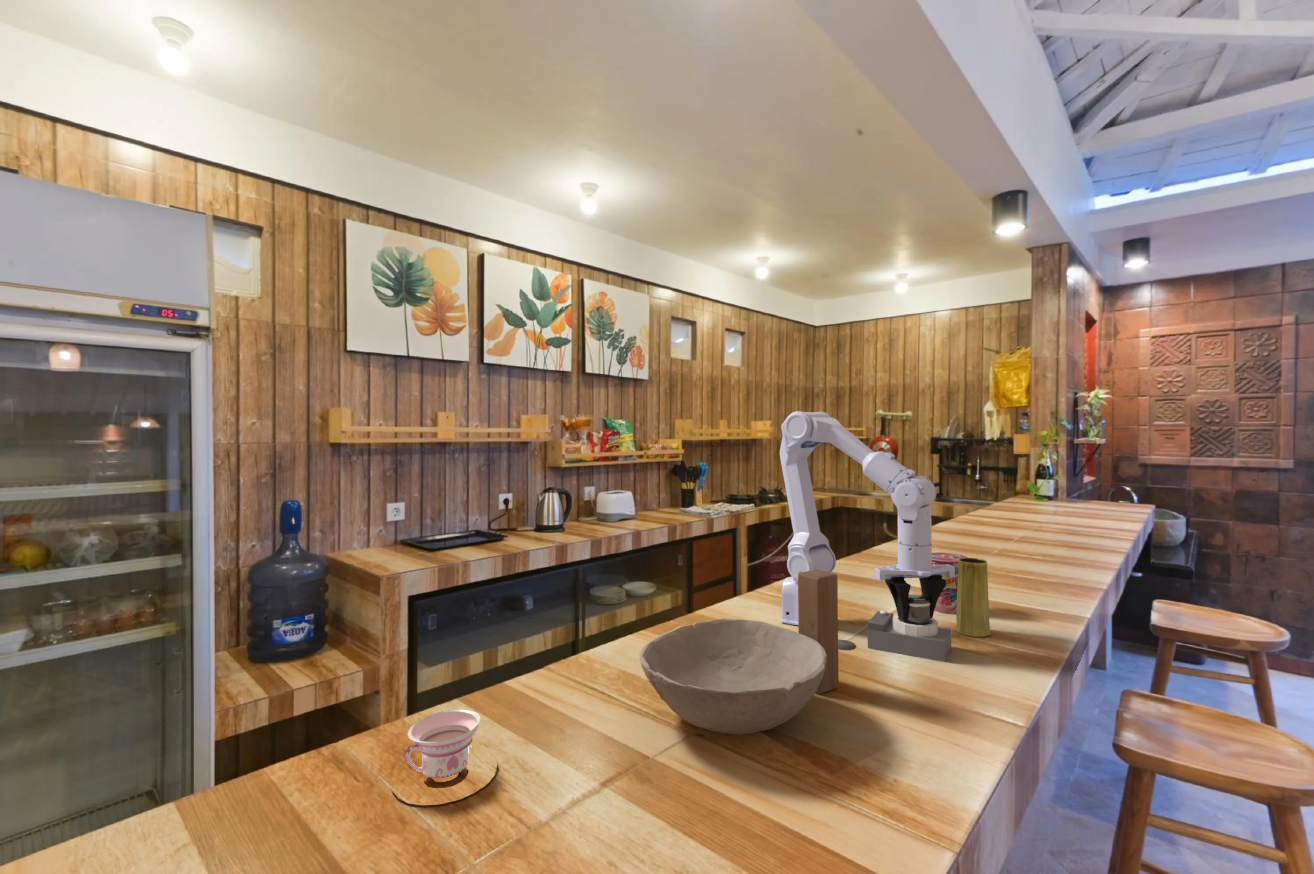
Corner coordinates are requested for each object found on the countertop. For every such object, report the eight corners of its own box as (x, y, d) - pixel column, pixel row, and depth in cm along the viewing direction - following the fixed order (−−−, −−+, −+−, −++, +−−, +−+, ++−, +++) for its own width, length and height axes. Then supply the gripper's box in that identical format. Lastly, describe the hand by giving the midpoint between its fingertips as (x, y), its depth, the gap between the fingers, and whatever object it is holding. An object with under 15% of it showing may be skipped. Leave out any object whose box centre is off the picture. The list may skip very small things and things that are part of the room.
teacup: (462, 740, 80) (461, 694, 80) (518, 772, 73) (517, 721, 73) (372, 782, 71) (371, 730, 71) (425, 823, 64) (424, 765, 63)
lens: (909, 634, 108) (909, 600, 108) (899, 626, 112) (899, 593, 112) (934, 634, 108) (934, 600, 107) (923, 626, 112) (923, 593, 112)
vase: (982, 627, 121) (981, 556, 121) (996, 638, 115) (995, 563, 115) (950, 626, 122) (950, 556, 122) (963, 637, 116) (962, 563, 116)
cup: (928, 614, 130) (927, 559, 130) (922, 603, 138) (922, 551, 138) (976, 617, 127) (975, 561, 127) (967, 606, 135) (967, 553, 135)
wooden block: (777, 675, 99) (776, 567, 99) (796, 669, 102) (795, 563, 101) (820, 695, 92) (818, 578, 92) (839, 688, 94) (838, 573, 94)
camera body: (867, 647, 111) (867, 619, 111) (878, 634, 118) (877, 608, 118) (945, 661, 104) (944, 631, 104) (951, 647, 111) (951, 618, 111)
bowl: (671, 787, 69) (670, 700, 69) (623, 690, 95) (622, 627, 94) (870, 751, 76) (870, 672, 76) (775, 670, 102) (774, 611, 101)
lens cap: (825, 648, 112) (825, 645, 112) (832, 640, 116) (832, 637, 116) (851, 653, 109) (851, 650, 109) (858, 645, 113) (858, 642, 113)
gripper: (888, 549, 105) (888, 626, 105) (965, 545, 107) (965, 621, 107) (869, 541, 112) (869, 613, 112) (941, 538, 114) (942, 610, 114)
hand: (915, 617), depth 110 cm, fingers closed on lens, 4 cm apart
